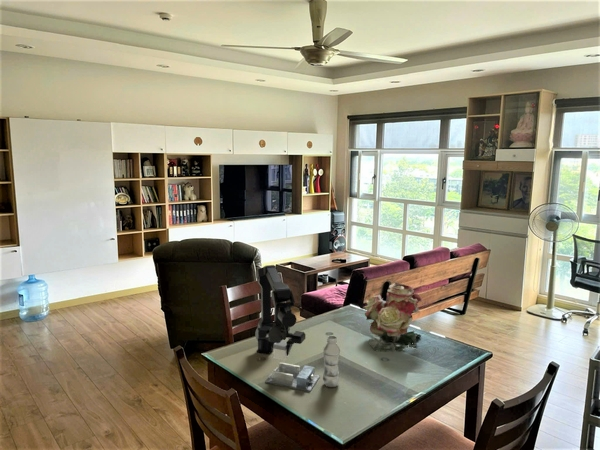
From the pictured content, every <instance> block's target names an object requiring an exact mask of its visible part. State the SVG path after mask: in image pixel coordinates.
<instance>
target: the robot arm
mask: <svg viewBox="0 0 600 450" xmlns="http://www.w3.org/2000/svg"><path fill="white" fill-rule="evenodd" d="M255 279H256V281H257V283H258V285H259V286H260V306H261V307H260V313H261V314H260V315H261V317H260V319H259V320H258V323H257V328H256V329H255V333H254V334H255V339H256V340H257V350H256V351H255V352H256V353H260V354H266V355H270V354H271V353H272V351H273V345H274V344H275V343H280V342H281V340H283V341H287V342H286V343H287V356H288V355H289V356H290V352H291V349H292V347H293V345H294V344H299V345H301V344H302V343H303V342H304V341H305V340H306V333H305V332H304V331H299V330H295V332H290V330H291V329H290V328H292V327H293V326H295V324H296V323H297V315H295V314H294V312H293V310H292V309H291V308H292V307H293V308H294V307H295V298H294V293H293V291H292V289H291V288H290V286H289V285H288V284H287V283H284V282H283V280H282V278H281V276H280V274H279V273H278V270H277V266H276V265H274V264H271V265H264V266H263V267H259V268H257V269H256V271H255ZM272 304H273V307H274V318H273V319H272ZM287 338H288V340H286V339H287Z"/></svg>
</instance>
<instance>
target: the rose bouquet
mask: <svg viewBox="0 0 600 450" xmlns="http://www.w3.org/2000/svg"><path fill="white" fill-rule="evenodd" d="M414 293H415V289H414V288H413V287H412V286H411V285H405V284H402V283H400V282H394V283H392V284H390V285H389V287H388V289H387V292H386V297H387V300H388V301H386V300H383V299H382V295H381V294H378V295H372V297H370V298H369V299H368V300H367V301H366V302H365V303H366V304H367V305H365V306H363V307H362V309H363V310H366V311H365V312H364V316H365V317H366V321H369V320H372V322H371V323H370V327H369V330H370V333H369V335H370V336H371V338H369V339H367V340H368V345H369V346H370V347H371V348H372V349H373V351H375V352H382V353H383V352H384V353H385V352H387V353H388V352H401V351H404V350H403V349H406V348H408V346H407V345H405V344H408V345H409V347H411V348H412V347H413V348H416V349H417V347H418V346H417V345H418V344H417V337H419V338H420V339H422V336H421V334H419V333H415V332H416V331H417V329H415V330H411V331H408V329H409V327H410V325H412V322H413V315H412V314H414V313H420V309H419V305H418V303H420V302H421V301H422V300H423V298H422V297H421V296H420V295H419V294H418V293H415V294H414ZM412 342H413V344H412Z"/></svg>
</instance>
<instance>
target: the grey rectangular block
mask: <svg viewBox="0 0 600 450" xmlns="http://www.w3.org/2000/svg"><path fill="white" fill-rule="evenodd" d="M287 341H288V340H281V342H280V343H275V344H274V345H273V354H272V355H273V357H272V358H273V359H274V360H279V361H282V362H283V361H284V362H286V360H287V359H288V358H289V357H290V354H289V355H288V356H287V343H286V342H287Z"/></svg>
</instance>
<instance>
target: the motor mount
mask: <svg viewBox="0 0 600 450" xmlns="http://www.w3.org/2000/svg"><path fill="white" fill-rule="evenodd" d="M320 376H321V375H319V374H315V366H310V365H304V366H303V368H302V369H301V365H298V364H297V365H296V364H291V363H286V362H283V361H282V362H281V361H280V362H279V363H278V366H275V368H274V369H273V370H272V371H271V373H270V374H269V375H268V376H267V378H266V380H265V384H270V385H274V386H280V387H284V388H288V389H289V388H290V389H293V390H299V391H302V392H308V393H311V392H312V390H313V389H314V387H315V385H316V384H317V382H318V380H319V379H320V378H321V377H320Z"/></svg>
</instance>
